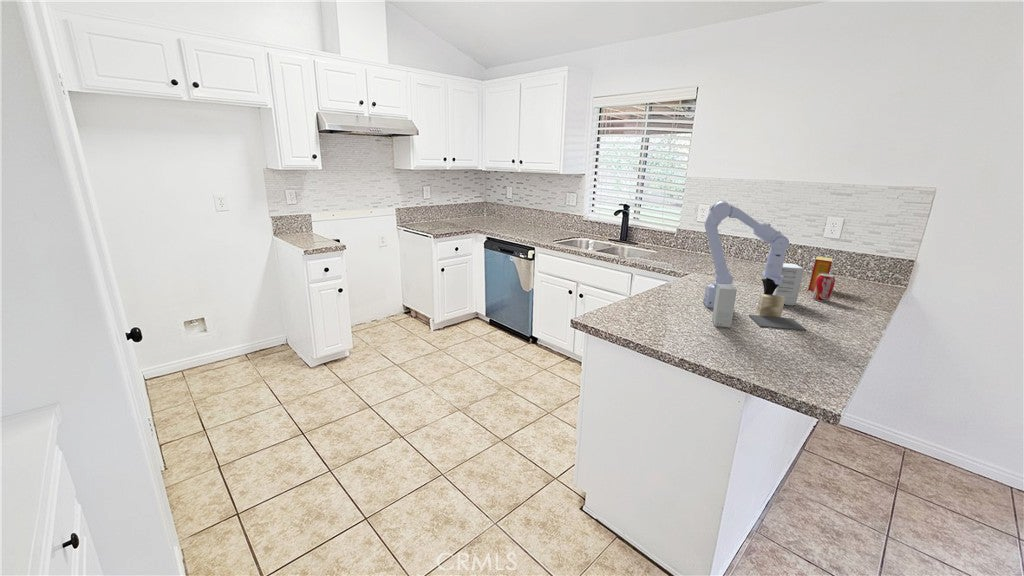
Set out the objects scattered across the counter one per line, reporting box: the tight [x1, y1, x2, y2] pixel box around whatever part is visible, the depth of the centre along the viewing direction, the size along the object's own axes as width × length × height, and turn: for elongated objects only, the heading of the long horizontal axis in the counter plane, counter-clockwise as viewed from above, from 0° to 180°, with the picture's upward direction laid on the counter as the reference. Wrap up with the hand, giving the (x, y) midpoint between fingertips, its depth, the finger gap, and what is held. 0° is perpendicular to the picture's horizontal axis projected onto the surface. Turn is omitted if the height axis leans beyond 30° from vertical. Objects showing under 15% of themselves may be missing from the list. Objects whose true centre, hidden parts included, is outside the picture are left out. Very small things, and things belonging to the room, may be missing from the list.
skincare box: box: [711, 284, 738, 329], centre depth 162 cm, size 8×6×15 cm
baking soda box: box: [807, 255, 833, 292], centre depth 212 cm, size 10×6×16 cm
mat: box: [748, 314, 807, 332], centre depth 167 cm, size 16×12×1 cm
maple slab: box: [756, 293, 785, 317], centre depth 173 cm, size 8×3×8 cm, turn 80°
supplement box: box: [772, 262, 805, 306], centre depth 190 cm, size 10×9×17 cm
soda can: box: [811, 273, 836, 303], centre depth 196 cm, size 7×7×12 cm
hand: (767, 296), depth 176 cm, fingers closed
